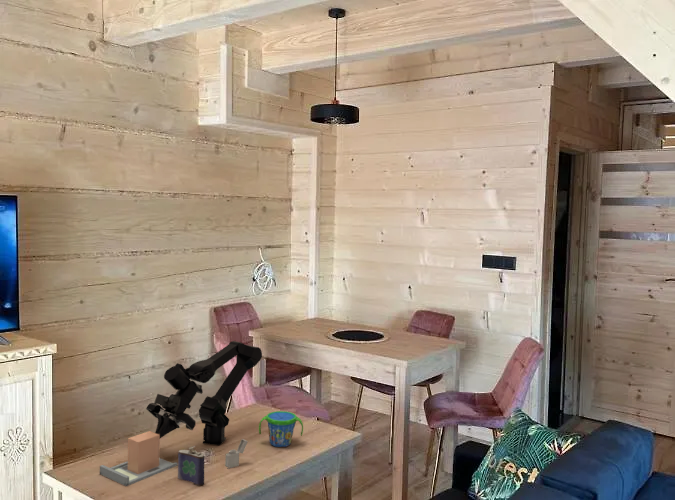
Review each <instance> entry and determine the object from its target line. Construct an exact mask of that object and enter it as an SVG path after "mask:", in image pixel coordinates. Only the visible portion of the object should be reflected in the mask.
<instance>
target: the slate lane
mask: <svg viewBox="0 0 675 500" xmlns="http://www.w3.org/2000/svg"><path fill="white" fill-rule="evenodd" d="M175 467H178V462H171V461H168V460H166V459H164V458H160V457H159V466H158V467H155V468H153V469H150V470H147V471H145V472H142V473H140V474H136V473H134V472H131V471H129V470H128V460H127V461H124V462H121V463H119V464H117V465H113V466H111V467H108V466H106V465H105V464H101V465H99V475H101V476H103V477H105V478H108V479H109V480H111V481H114V482H116V483H118V484H120V485H123V486H124V487H128V486H131V485H133V484H136V483H137V482H138V483H139V482H141V481H143V480H145V479H148V478H150V477H153V476H155V475H158V474H160V473H162V472H165V471H167V470H169V469H172V468H175Z"/></svg>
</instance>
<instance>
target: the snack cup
mask: <svg viewBox="0 0 675 500" xmlns="http://www.w3.org/2000/svg"><path fill="white" fill-rule="evenodd" d="M265 420H266V422H267V429H268V438H269V444H271V446H273V447H276V448H281V447H285V448H286V447H288V446H290V445H291V443H292V439H293V435H294V429H295V426H296V422H297V421H298V422H299V424H300V425H301V432H300V436H302V435H303V433H304V423H303V421H302V420H301V418H300V417H298V416H297V415H296V414H295V413H294V412H290V411H284V410H282V411H281V410H277V411H271V412H269V413H268V414H266V416H263V417H262V418H261V420H260V421H259V424H258V433H259V435H262V423H263V421H265Z"/></svg>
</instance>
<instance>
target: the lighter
mask: <svg viewBox="0 0 675 500" xmlns="http://www.w3.org/2000/svg"><path fill="white" fill-rule="evenodd" d="M248 442H249V441H248V440H246V439H244V438H242V439H240V443H239V444H238V447H237V449H235V448H234V449H230V450H229V451H228V453H226V454H225V467H226V469H227V470H229V469H232V468H237V467H239V466H240V454H244V452H245V449H246V447H247V444H248Z"/></svg>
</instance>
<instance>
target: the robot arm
mask: <svg viewBox="0 0 675 500" xmlns="http://www.w3.org/2000/svg"><path fill="white" fill-rule="evenodd" d="M235 357H236V363H235V365H234V366H233V367H232V369H231V371H230V372H229V374H228V375H227V376H226V378H225V379H224V381H223V382H222V384H221V385H220V387H219V388H218V390H217V392H215V394H214V395H213V396H208V395H207V396H206V397H205V398H204V400H203V402H202V403H201V404H200V407H199V409H198V413H199V414H198V416H199V420H200V422H201V423H202V424H204V428H203V436H202V437H203V438H202V440H203V441H202V444H205V445H211V446H212V445H213V446H221V445H222V444H223V443H224V442H225V441H227V440H226V439H227V437H225V433H226V432H225V431H226V427H227V426H228V425H229V422H230V418H229V417H228V416H227V415H226V412H227V403H228V401H229V400H230V398H231V397H232V395H233V394H234V392H235V390H236V389H237V388H238V386H239V385H240V383H241V381H242V380H243V378H244V377H245V375H246V374H247V372H248V371H249V370H251V369H253V368H254V367H256V366H257V365H258V364H259V362H260V361H261V359H262V358H263V352H262V350H261V348H260V347H257V346H255V345H249V344H245V343H243V342H241V341H236V340H232V341H230V342H229V343H228V344H227V345H226V346H225V347H223V348H221V349H220V350H219V351H217V352H216V353H214V354H213V355H211V356H210V357H208V358H207V359H203V360H198V361H196V362H194V363H192V364H190V366H189V367H186V368H185V367H184V365H183V364H182V363H179V362H177V363H176V364H174V365H173V366H171V367H169V368H168V369H166V371H165V373H164V375H163V378H164V380H165V381H166V382H167V383H168V384H169V385H170V386H171V387H172V388H173V389H174V390H177V391H176V392H175V394H173V393H171V394H170V395H169V396H167V395H163V394H159V393H157V394H156V397H155V400H154V402H151V403H148V405H147V407H146V408H145V410H147V412H148V413H150V414H151V415H152V416H153V417H154V418H155V419H157V425H156V429H155V432H154V433H156V434H159V435H160V439H161V438H163V437H165V436H166V435H167V434H170V433H171V432H173V431H175V430H177V429H180V428H181V426H180V425H181V424H185V428H186V429H187V430H190V431H193V430H194V428H195V427H196V422H197V421H196V420H195V419H194V418H193V417H192V416H191V415H190V414H188V413H186V409H191V407H192V405H191V402H192V401H193V399H194V398H195V396H196V395H197V393H198V394H200V395H203V385H201V384H198V383H202V384H206V383H208V382H209V381H210V380H211V379H212V378H213V377H214V376H215V374H216V371H217V370H219V369H220V368H221V367H223V366H224V365H225V364H227V363H228V362H229V361H231V360H232V359H234V358H235ZM196 382H198V383H196Z"/></svg>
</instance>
